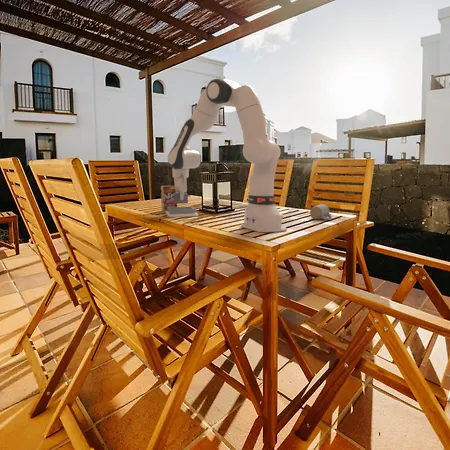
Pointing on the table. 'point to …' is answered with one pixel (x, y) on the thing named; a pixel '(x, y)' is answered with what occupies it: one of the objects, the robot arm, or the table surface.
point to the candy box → (167, 197)
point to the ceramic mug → (320, 212)
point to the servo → (177, 198)
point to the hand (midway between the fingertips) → (180, 199)
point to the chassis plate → (181, 211)
